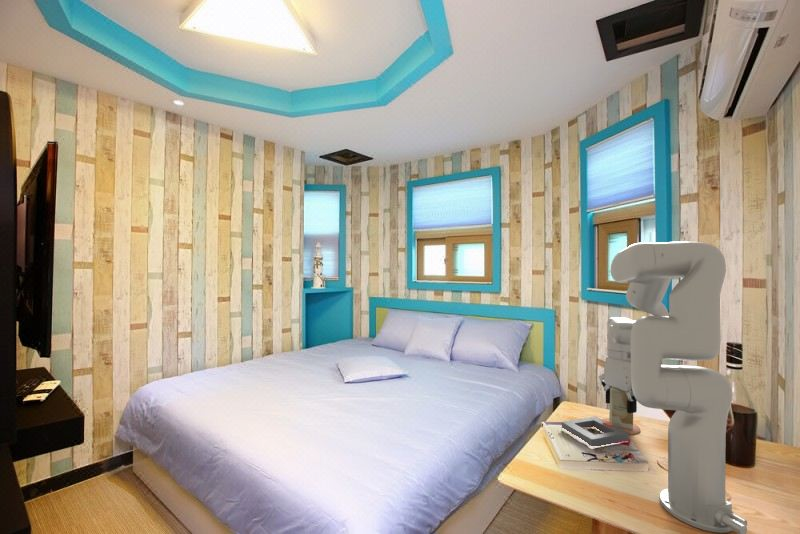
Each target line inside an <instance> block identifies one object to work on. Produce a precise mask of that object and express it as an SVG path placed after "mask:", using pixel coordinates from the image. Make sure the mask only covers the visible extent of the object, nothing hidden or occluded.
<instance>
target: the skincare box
mask: <svg viewBox="0 0 800 534" xmlns="http://www.w3.org/2000/svg"><path fill="white" fill-rule="evenodd" d="M631 395H632V393H631ZM632 396H633V395H632ZM627 400H629V398H628V396H627V394H626V392H624V391H621V390H619V389H616V388H614V387H611V386H610V403H609V417H608V418H609V421H610V423H611V424H613V425H614V426H616V427H620V428H626V429H632V430H633V423H634V413H628V412H627Z"/></svg>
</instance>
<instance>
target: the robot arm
mask: <svg viewBox="0 0 800 534" xmlns="http://www.w3.org/2000/svg"><path fill="white" fill-rule="evenodd" d="M611 261H612V262H611V264H610V275H611V277H612V279H613V280H614V281H615V282H616V283H620V284H621V283H624V284H625V283H626V284H627V283H629V285H628V287H627V291H626V293H625V298H626V302H628V303H629V304H630V305H631V306H632V307H634V308H636V309H637V310H639V311H642V312H645V313H647V314H650V315H645V316H641V317H639V318H637V319H636V320H633V319H632V318H631V319H630V318H628V317H624V316H623V317H621V316H619V317H618V316H614V317H613V316H611V317H609V318H608V319H607V321H606V322H607V323H606V325H607V326H606V327H607V329H606V337H607V338H606V339H607V344H606V346H607V347H606V348H607V349H606V350H607V351H606V355H607V356H605V361H604V367H603V368H604V370H603V374H600V375H598V379H599V381H600V382H601V385H602V387H603V391H604V392H605V404H607V405H609V404H610V386H611V387H614V388H616V389H619V390H621V391H624V392H626V394H627V396H628V398H629V400H627V412H628V413H633V414H634V413H637V410H638V409H637V408H638V406H637V404H638V403H639V405H641V406H643V407H645V408H650V409H656V410H657V409H658V410H666V411H667V410H668V411H675V412H674V413H673V414H672V416H671V417H670V419H669V423H668V427H667V428H668V429H667V488H665V489H663V490H661V491H660V493H659V502H660V504H661V506H662V507H663V509H664V510H666V511H667V512H668V513H669V514H671V515H672V516H673V517H674V518H677V519H678V520H680V521H681V522H684V523H685V524H687V525H689V526H692V527H694V528H698V529H699V530H700V529H701V530H703V531H705V532H711V533H712V532H713V533H717V534H718V533H719V534H723V533H730V532H733V531H734V532H735V533H737V534H747V533H748V528H747V525H748V520H746V519H745V518H743V517H742V516H739V515H737V514H735V513H734V511H732V510H733V507H732V506H733V503H732V502H731V501H728V500H726V449H727V448H726V445H727V444H726V439H727V438H726V436H727V435H726V434H727V422H728V417H729V413H730V409H731V406H732V402H733V389H732V384H731V383H730V382H729V380H728V379H727V377H726V376H724V375H723V374H722V373H721V372H719V371H717V370H715V369H713V368H709V367H705V366H699V365H698V366H697V365H684V364H683V365H680V364H662V363H663V361H664V360H671V361H672V360H673V361H689V362H690V361H696V362H698V361H699V362H701V361H702V362H704V361H711V360H713V359H716V358H717V357H718V356H719V353H720V351H721V341H722V340H721V338H722V337H721V309H720V308H721V307H720V301H721V300H720V298H721V293H722V292H721V291H722V289H723V285H724V281H725V277H726V270H727V264H726V259H725V256H724V254H723V252H722V251H721V250H720V249H719V248H718V247H717V246H716V245H713V244H710V243H707V242H700V241H669V242H667V241H666V242H664V241H663V242H662V241H661V242H656V241H655V242H637V243H633V244H631V245H629V246H628V247H626V248H624V249H622V250H620V251H619V252H617V253H616V255H614V257H613V259H612V260H611ZM673 278H674V279H675V278H677V279H678V278H682V279H680V280H679V281H678V282H677V283H676V285H674V287H673V288H672V290H671V291H670V293H669V295H668V296H669V297H668V306H669V307H668V309H669V311H668V309H667V307H666V305H665V304H664V303H663V302H662V301H663V299H664V297H665V295H666V293H667V290H668V288H669V285H670V283H671V281H672V279H673ZM631 393H632V395H633V396H632V395H631ZM637 402H638V403H637Z"/></svg>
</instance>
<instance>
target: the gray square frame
mask: <svg viewBox="0 0 800 534" xmlns="http://www.w3.org/2000/svg"><path fill="white" fill-rule="evenodd" d="M593 426H594V427H596V428H597V429H599V430H600V431H602V432H604V433H597V434H594V433H592V432H590V431H589V430H585V429H583V428H581V427H593ZM562 428H564V429H566V430H567V431H569V432H571V433H572V434H574V435H576V436H578V437H579V438H581V439H582V440H584V441H585V442H587V443H588V444H589V445H591V446H601V445H606V444H611V443H618V442H622V441H629V442H630V440H629V438H630V437H629V436H630V435H629V433H628V432H626V431H624V430H622V429H620V428H618V427H616V426H614V425H613V424H611V423H609V422H607V421H604V420H603V418H600V417H598V416H591V417H585V418H578V419H571V420H564V421H561V429H562Z"/></svg>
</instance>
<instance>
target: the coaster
mask: <svg viewBox="0 0 800 534" xmlns="http://www.w3.org/2000/svg"><path fill="white" fill-rule="evenodd" d="M602 420H604V421H607V422H609V423H610V421H609V417H606V418H602ZM618 428H620V427H618ZM620 429H622V430H624V431H626V432H628V433H629V436H630V435H632V436H633V435H638V434H640V433H641V427H640V426H639V425H637V424H636V423H634V422H633V430H632V429H626V428H620Z"/></svg>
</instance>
